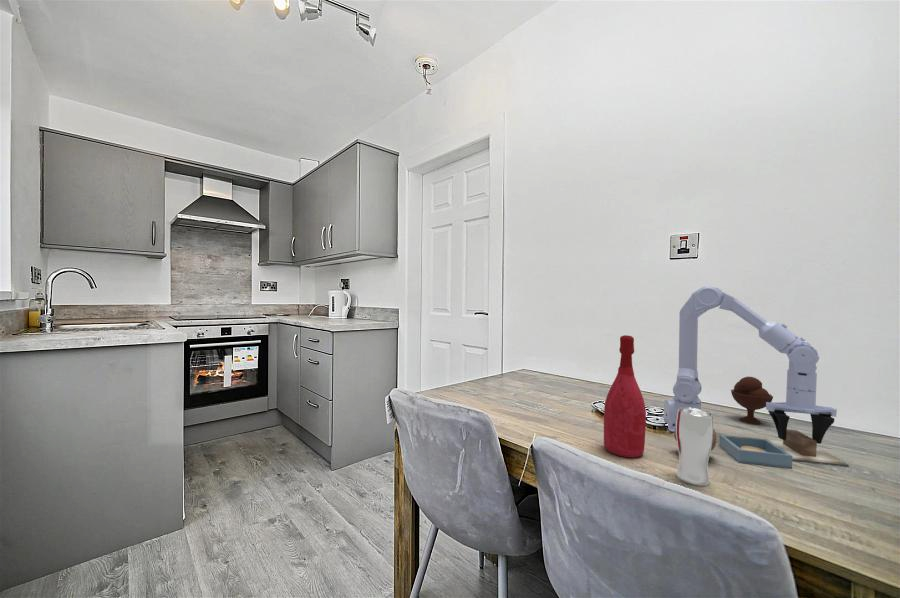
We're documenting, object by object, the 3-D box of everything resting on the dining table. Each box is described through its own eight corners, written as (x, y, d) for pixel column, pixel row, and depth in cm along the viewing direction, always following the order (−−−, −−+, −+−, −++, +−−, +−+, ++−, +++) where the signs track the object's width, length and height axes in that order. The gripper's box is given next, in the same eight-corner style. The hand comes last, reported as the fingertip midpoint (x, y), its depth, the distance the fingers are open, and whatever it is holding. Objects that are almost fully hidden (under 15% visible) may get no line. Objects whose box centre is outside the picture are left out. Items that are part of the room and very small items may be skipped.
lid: (785, 458, 96) (786, 440, 96) (759, 440, 108) (760, 425, 108) (843, 464, 94) (844, 446, 93) (810, 446, 105) (811, 429, 105)
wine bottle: (627, 462, 93) (631, 338, 92) (594, 447, 101) (598, 334, 101) (653, 455, 97) (657, 337, 97) (620, 441, 106) (623, 333, 106)
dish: (738, 462, 94) (739, 450, 94) (719, 445, 105) (719, 434, 105) (791, 468, 92) (792, 455, 91) (766, 450, 102) (766, 439, 102)
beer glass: (667, 472, 88) (669, 406, 88) (696, 471, 88) (698, 406, 88) (688, 487, 81) (691, 416, 81) (719, 487, 81) (722, 416, 81)
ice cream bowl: (780, 428, 120) (781, 380, 120) (739, 425, 123) (741, 378, 123) (760, 418, 131) (761, 374, 131) (723, 415, 133) (724, 372, 133)
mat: (780, 459, 97) (780, 457, 97) (755, 441, 108) (755, 440, 108) (848, 466, 93) (848, 465, 93) (815, 448, 105) (815, 446, 105)
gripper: (777, 390, 99) (775, 442, 99) (846, 395, 95) (844, 449, 95) (762, 384, 105) (760, 433, 106) (826, 388, 102) (824, 439, 102)
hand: (799, 440), depth 101 cm, fingers open, 7 cm apart
